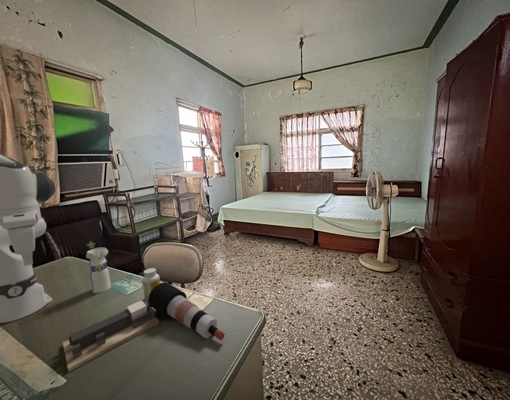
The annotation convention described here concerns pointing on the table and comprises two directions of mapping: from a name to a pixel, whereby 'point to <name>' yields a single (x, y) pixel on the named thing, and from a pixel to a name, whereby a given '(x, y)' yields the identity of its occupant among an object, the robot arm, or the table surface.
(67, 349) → the clip board
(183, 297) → the cable
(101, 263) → the water bottle
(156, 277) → the supplement bottle
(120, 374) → the table surface
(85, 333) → the bar
